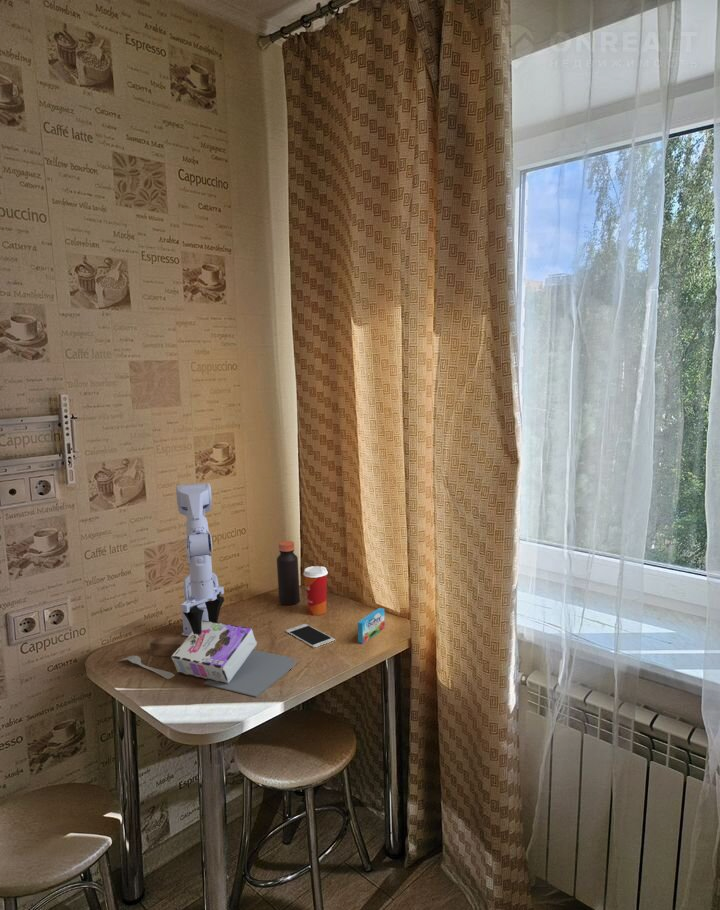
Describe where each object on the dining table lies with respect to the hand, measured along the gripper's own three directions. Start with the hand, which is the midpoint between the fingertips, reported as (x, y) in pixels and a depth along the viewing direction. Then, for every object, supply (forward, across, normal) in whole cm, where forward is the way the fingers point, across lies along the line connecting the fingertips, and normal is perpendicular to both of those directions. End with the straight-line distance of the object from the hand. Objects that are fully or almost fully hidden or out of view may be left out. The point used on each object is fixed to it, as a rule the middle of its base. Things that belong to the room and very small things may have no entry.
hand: (205, 628), depth 168 cm
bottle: (+9, +44, +3) cm, 45 cm away
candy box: (+4, -2, -13) cm, 14 cm away
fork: (+10, -9, +13) cm, 19 cm away
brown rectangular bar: (+9, +1, +10) cm, 14 cm away
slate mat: (+9, 0, -15) cm, 18 cm away
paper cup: (+9, +40, -10) cm, 42 cm away
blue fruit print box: (+10, +31, -33) cm, 47 cm away
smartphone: (+10, +24, -17) cm, 31 cm away
